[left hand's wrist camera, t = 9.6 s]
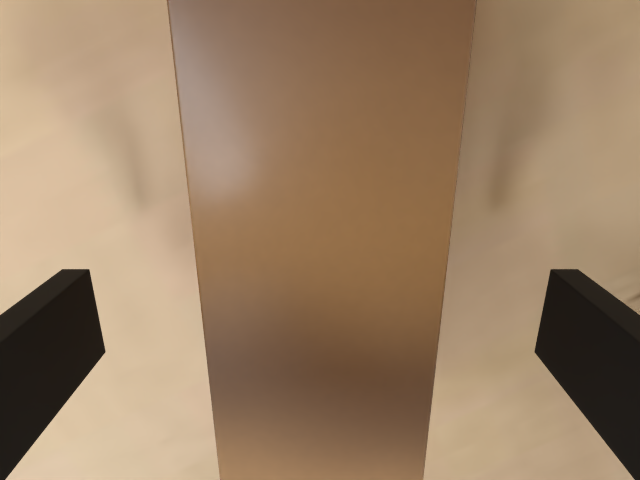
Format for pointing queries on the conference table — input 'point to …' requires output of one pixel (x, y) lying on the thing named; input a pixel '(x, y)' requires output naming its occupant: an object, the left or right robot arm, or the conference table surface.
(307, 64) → the bar
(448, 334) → the conference table surface
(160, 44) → the conference table surface
